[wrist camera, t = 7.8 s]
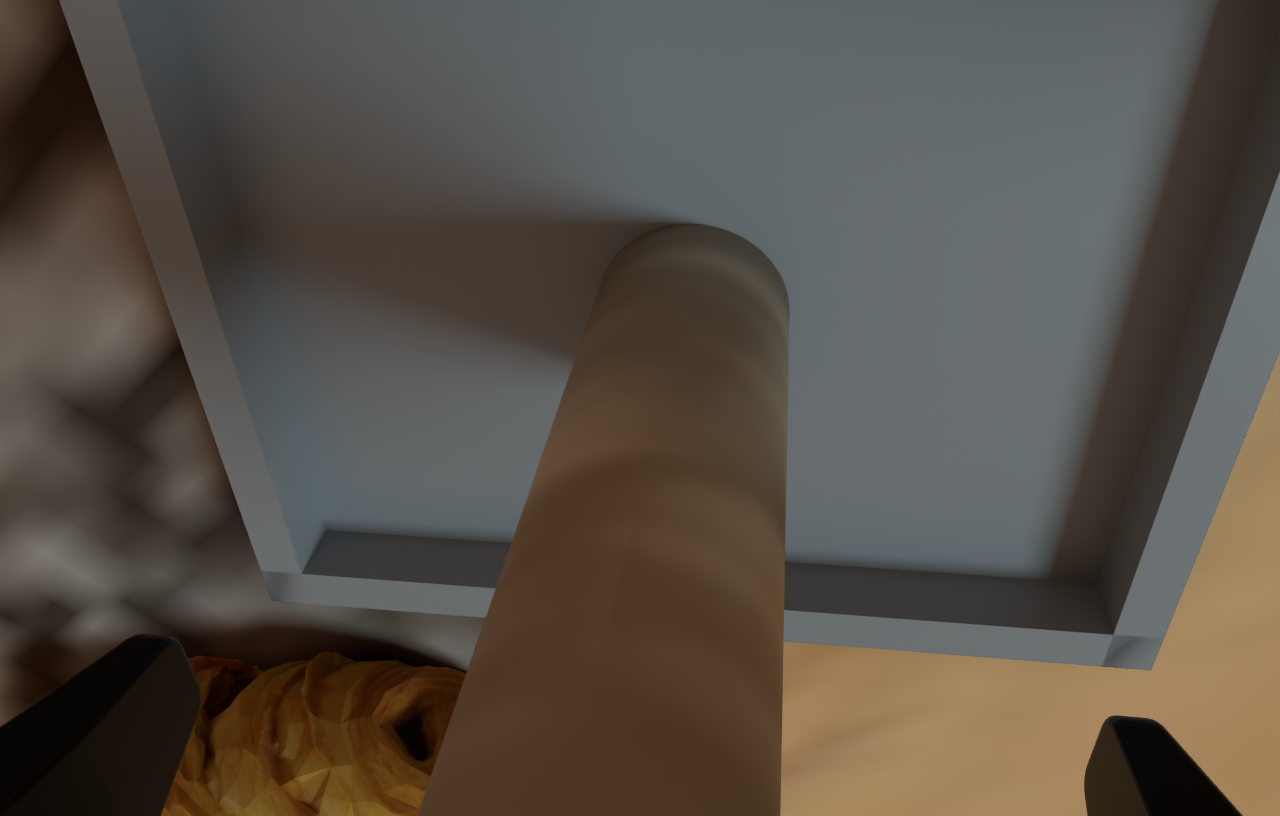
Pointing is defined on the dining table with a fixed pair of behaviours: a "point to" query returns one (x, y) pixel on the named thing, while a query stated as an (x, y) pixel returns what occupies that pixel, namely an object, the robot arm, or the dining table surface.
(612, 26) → the tray
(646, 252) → the dowel
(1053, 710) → the dining table surface
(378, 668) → the croissant
